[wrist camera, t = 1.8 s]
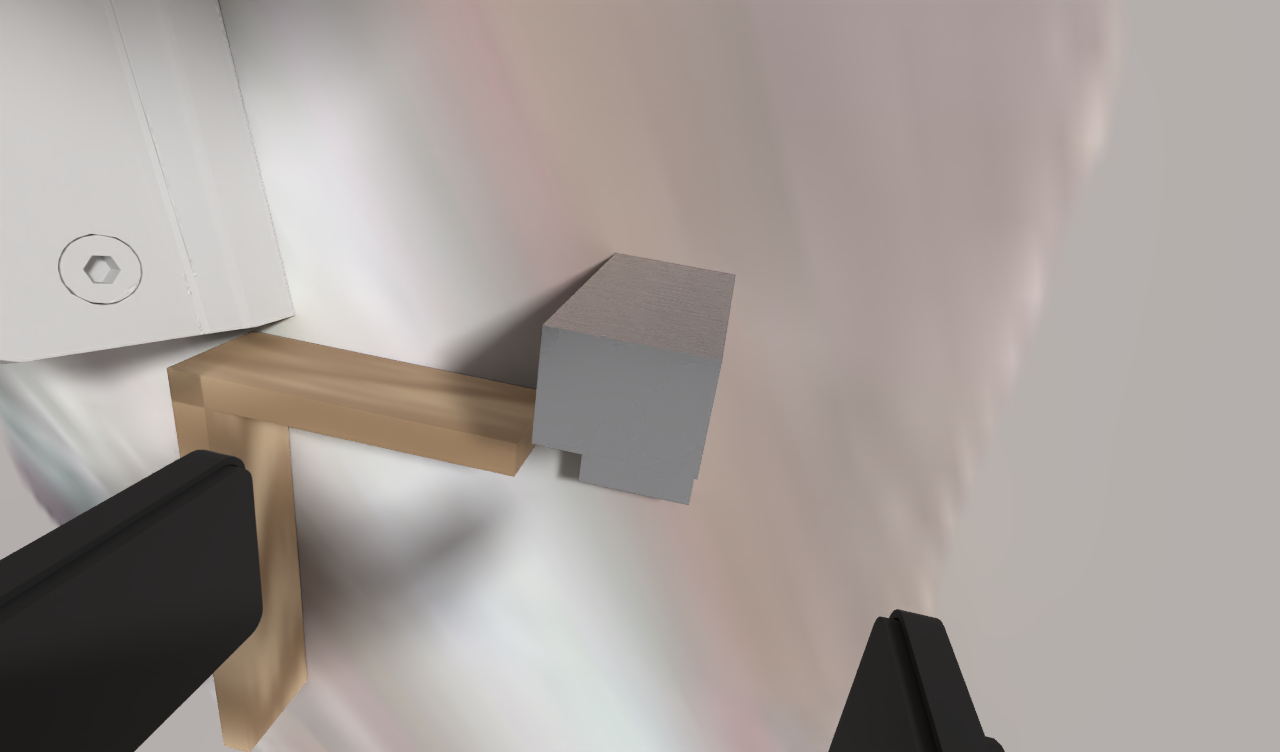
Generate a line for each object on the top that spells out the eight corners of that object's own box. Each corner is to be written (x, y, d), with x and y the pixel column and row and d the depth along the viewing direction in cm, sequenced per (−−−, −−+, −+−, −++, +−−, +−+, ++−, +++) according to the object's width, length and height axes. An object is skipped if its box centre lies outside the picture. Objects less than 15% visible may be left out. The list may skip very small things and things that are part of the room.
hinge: (297, 325, 25) (-57, 434, 17) (226, 313, 27) (-118, 404, 19) (160, -237, 19) (-501, -486, 11) (81, -194, 21) (-514, -373, 13)
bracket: (615, 252, 22) (542, 325, 14) (735, 274, 21) (722, 361, 14) (588, 460, 25) (516, 605, 18) (692, 483, 25) (663, 641, 17)
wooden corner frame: (252, 330, 25) (166, 368, 22) (553, 393, 24) (516, 443, 20) (284, 673, 32) (224, 745, 29) (518, 735, 31) (486, 818, 28)
